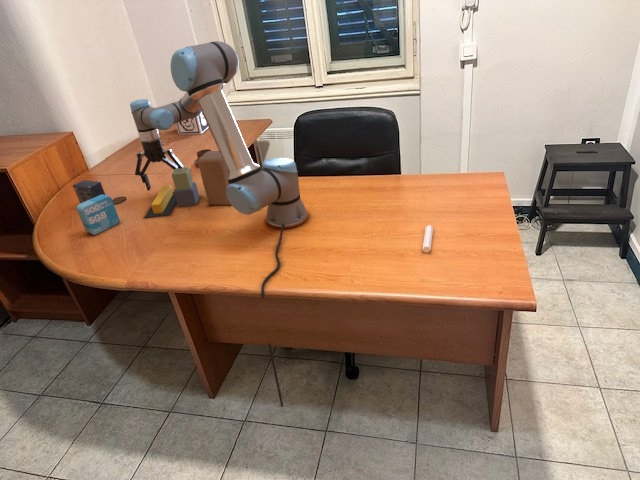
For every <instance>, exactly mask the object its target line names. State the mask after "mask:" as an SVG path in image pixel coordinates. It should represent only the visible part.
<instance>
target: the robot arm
mask: <svg viewBox="0 0 640 480" xmlns="http://www.w3.org/2000/svg"><path fill="white" fill-rule="evenodd" d="M239 68H240V59H239V56H238V54H237V52H236V50H235V49H234V48H233V47H232V46H231V45H230V44H228V43H226V42H224V41H220V40H219V41H218V40H214V41H210V42H205V43H200V44H196V45H195V44H194V45H190V46H185V47H183V48H180V49H177V50H176V51H174V53H173V54H172V56H171V58H170V73H171V74H170V75H171V78H172V81H173V83H174V85H175V87H177V88H178V89H179V91H181V92H185V93H184V94H183V95H182V96H181V98H179V100H177V101H174V102H170V103H168V104H164V105H161V106H157V107H153V106H152V104H151V102H150V100H149V99H147V98H140V99H136V100H133V101H131V102H130V103H129V107H130V111H131V112H130V113H131V114H132V118H133V121H134V125H135V127H136V130H137V134H138V136H139V140H140V143H141V146H142V151H143V152H142V151H138V152H137V153H136V157H137V161H136V165H135V171H134V175H135V176H138V177H140V178H141V182H142V183H143V184H145V187H146V190H147V191H149V192H150V190H151V189H152V186H151V184H150V180H149V178H148V174H147V173H146V171H147V169H148V168H149V166H150V163H153V164H154V163H161V162H162V163H163V164H166V165H167V166H168V167H170V168H171V169H172V170H173V171H174V170H175V169H178V168H186V166H185V165H184V164H183V163H182V161H180V159H179V158H178V157H177V156H176V155H175V154H174V152H173V149H172V148H171V147H170V148H168V149H164V147H163V143H162V139H161V138H160V133H159V131H167V130H170V129H171V128H172V126H173V125H176V123H178V122H181V121H184V120H188V119H191V118H194V117H196V116H198V115H200V114H201V111H202V114H203V116H204V118H205V120H206V123H207V125H208V127H209V128H208V129H209V132H210V133H211V136H212V138H213V140H214V143H215V145H216V147H217V149H218V151H220V154H221V156H222V158H223V160H224V162H225V165H226V167H227V169H228V171H229V175H228V178H227V180H228V183H229V186H228V187H227V188H226V192H227V193H226V195H227V198H228V200H229V202H230V203H231V204H230V205H231V206H232V207H233V209H234V210H236V212H239V213H240V214H242V215H244V216H245V215H246V216H249V215H252V214H254V213H255V214H256V213H257V212H260V211H261V210H262V209H264V208H266V207H267V209H266V216H265V219H266V223H267V225H268V226H269V227H271V228H273V229H277V230H280V233H279V237H278V243H277V245H276V248H275V254H274V255H275V259H276V262H277V265H276V268H275V269H274V270H273V271H271V272H270V273H269V274H268V275H267V276H266V277H265V278H264V280H263V281H262V283H261V287H260V288H261V289H260V291H261V295H260V296H261V297H260V298H261V299H262V300H263V299H264V298H265V286H266V285H265V284H266V283H267V281H268V280H269V279H270V278H271V277H272V276H273V275H274V274H276V273H277V271H278V270H279V269H280V266H281V262H280V261H281V260H280V258H279V249H280V246H281V242H282V238H283V233H284V230H288V229H295V228H297V227H300V226H301V225H303V224H304V223H306V222H307V220H308V219H309V218H308V217H309V215H308V211H307V208H306V206H305V204H304V203H303V201H302V198H301V192H300V191H301V190H300V183H299V174H298V172H299V171H298V169H297V164H296V162H295V161H294V160H293V159H290V158H287V157H273V158H268V159H265V160H264V161H262V165H261V166H260V165H259V164H258V163H255V162H254V161H253V159H252V157H251V154H250V151H249V150H248V147H247V145H246V142H245V141H244V138H243V136H242V133H241V131H240V129H239V127H238V126H239V125H238V124H237V121H236V119H235V116H234V115H233V113H232V110H231V108H230V105H229V103H228V101H227V98H226V97H225V94H224V92H223V90H224V87H225V84H228V83H230V81H231V80H232V79H233V78H234V77H235V76H236V75H237V73H238V71H239ZM166 155H167V156H168V157H167V156H166ZM144 157H145V158H146V159H147V160H146V161H145V163H144V165H143V167H142V163H143V158H144ZM169 158H170V159H169ZM261 167H262V168H261ZM267 346H268V351H269V355H270V361H271V365H272V369H273V373H274V379H275V383H276V388H277V394H278V399H279V401H280V407H281V408H283V407H284V403H283V402H284V401H283V397H282V392H281V388H280V383H279V378H278V373H277V368H276V365H275V360H274V353H273V349H272V344H271V343H270V342H268V343H267Z"/></svg>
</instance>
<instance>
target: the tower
mask: <svg viewBox="0 0 640 480" xmlns="http://www.w3.org/2000/svg"><path fill="white" fill-rule="evenodd" d="M171 178H172V181H173V186H174V190H173V192H174V195H175V198H176V205H177V207H178V208H179V207H191V206H197V204H198V202H199V200H200V193H199V189H198V185H197V182H196V181H194V179H193V176H192V172H191V168H190V167H185V168H178V169H175V170H174V169H173V171H172V173H171Z"/></svg>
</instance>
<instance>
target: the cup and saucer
mask: <svg viewBox="0 0 640 480" xmlns="http://www.w3.org/2000/svg"><path fill="white" fill-rule="evenodd" d="M207 151H212V150H211V149H210V148H209V149H208V148H207V149H201V150H198V151H197V152H196V156H197V158H195V160H193V164H194V165H195V166H198V167H199V165H198V159H199V158H200V157H201V156H203V155H204V154H205V153H206V152H207Z"/></svg>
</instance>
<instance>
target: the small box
mask: <svg viewBox="0 0 640 480" xmlns="http://www.w3.org/2000/svg"><path fill="white" fill-rule="evenodd" d="M72 187H73V190H74V192H75V194H76V196H77V199H78V202H79V204H81V203H83V202H85V201H88V200H90V199H92V198H95V197H97V196H99V195H102V194H103V195H106V192H105V190H104V187H103V185H102V182H101V181H96V180H88V179H83V180H81V181H79V182H77V183H74V184H72Z"/></svg>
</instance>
